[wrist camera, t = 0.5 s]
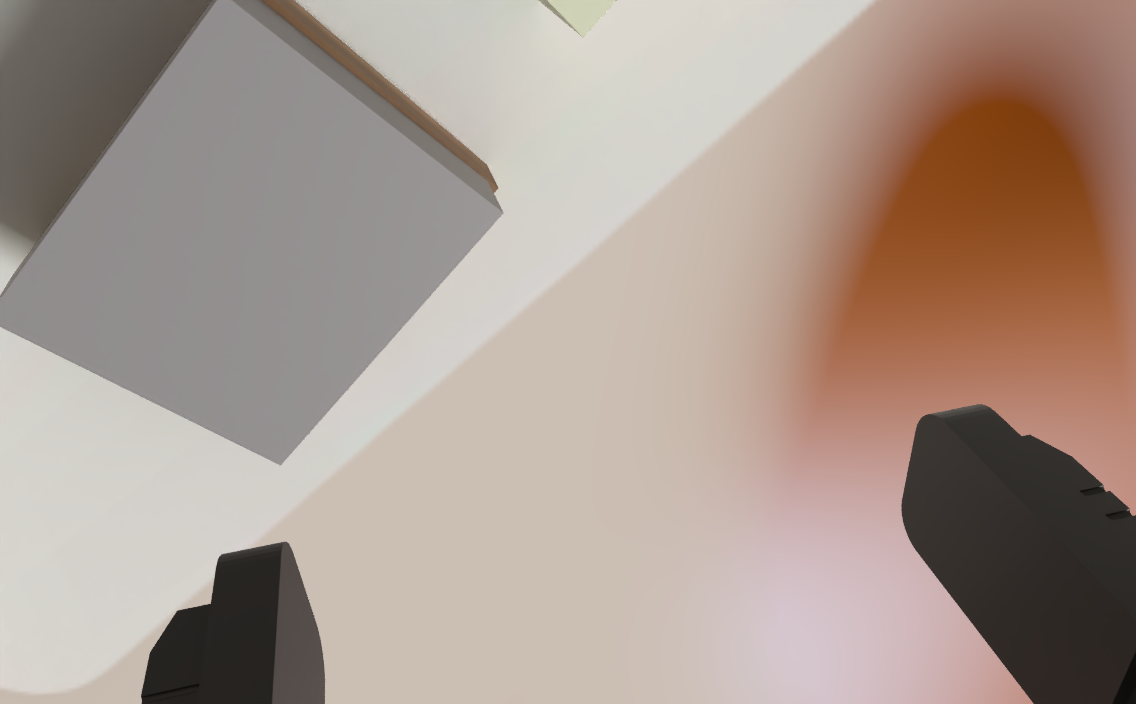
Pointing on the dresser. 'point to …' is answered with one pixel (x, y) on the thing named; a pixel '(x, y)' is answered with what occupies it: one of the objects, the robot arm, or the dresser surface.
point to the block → (579, 12)
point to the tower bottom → (376, 81)
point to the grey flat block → (249, 235)
